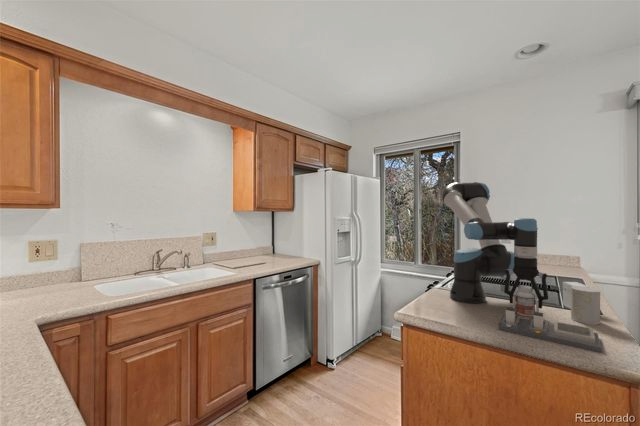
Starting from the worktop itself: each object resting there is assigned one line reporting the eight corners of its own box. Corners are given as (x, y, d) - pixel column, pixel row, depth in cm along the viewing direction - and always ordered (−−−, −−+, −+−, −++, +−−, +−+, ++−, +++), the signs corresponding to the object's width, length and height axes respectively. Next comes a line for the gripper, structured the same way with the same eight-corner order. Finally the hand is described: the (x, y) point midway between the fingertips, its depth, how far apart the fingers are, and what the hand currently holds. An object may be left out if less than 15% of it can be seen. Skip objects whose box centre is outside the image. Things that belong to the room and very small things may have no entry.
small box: (590, 312, 116) (590, 286, 116) (574, 311, 117) (574, 286, 117) (577, 306, 124) (577, 281, 124) (562, 305, 125) (562, 281, 125)
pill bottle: (521, 310, 119) (521, 284, 119) (538, 315, 114) (538, 287, 114) (512, 312, 116) (512, 285, 116) (529, 318, 111) (529, 289, 111)
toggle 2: (533, 327, 98) (533, 313, 98) (534, 325, 99) (534, 311, 99) (542, 329, 96) (543, 315, 96) (543, 327, 98) (543, 313, 98)
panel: (498, 329, 100) (498, 321, 100) (503, 318, 110) (503, 310, 110) (601, 352, 84) (601, 342, 84) (597, 337, 94) (597, 328, 94)
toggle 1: (505, 322, 103) (505, 308, 103) (506, 320, 105) (506, 306, 105) (514, 323, 101) (514, 310, 101) (515, 321, 103) (515, 308, 103)
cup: (565, 316, 112) (565, 286, 112) (584, 316, 112) (584, 285, 112) (586, 325, 104) (586, 292, 104) (606, 324, 104) (606, 291, 104)
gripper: (495, 255, 118) (495, 310, 118) (557, 260, 105) (557, 322, 106) (498, 253, 124) (498, 306, 124) (557, 257, 111) (557, 316, 111)
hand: (525, 313), depth 115 cm, fingers open, 7 cm apart
